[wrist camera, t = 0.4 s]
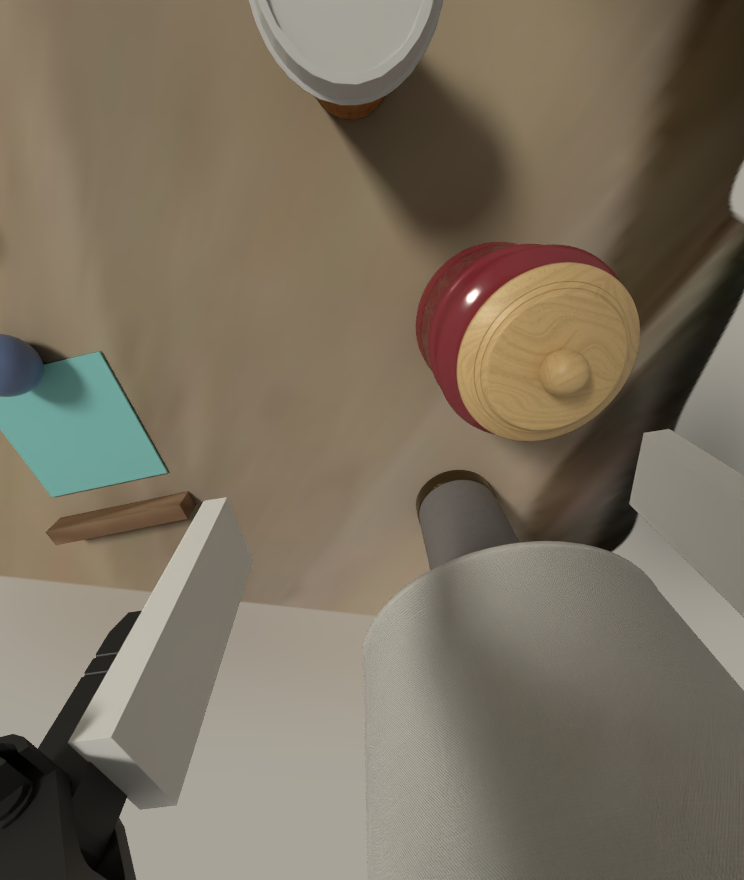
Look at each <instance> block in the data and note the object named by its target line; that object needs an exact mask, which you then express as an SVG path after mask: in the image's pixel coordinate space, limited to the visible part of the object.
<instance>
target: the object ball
mask: <svg viewBox="0 0 744 880" xmlns="http://www.w3.org/2000/svg"><path fill="white" fill-rule="evenodd" d="M43 372H44V367H43V362H42V360H41V357H40V356H39V354H38V353H37V352H36V350H35V349H34V348H33V347H31V346H30V345H29V344H27V343H26V342H24V341H22V340H20V339H18V338H16V337H13V336H9V335H4V334H0V397H13V396H19V395H22V394H25V393H27V392H29V391H31V390H32V389H34V388H35V387H36V386H37V385H38V384H39V382H40V381H41V379H42V377H43Z"/></svg>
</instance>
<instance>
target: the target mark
mask: <svg viewBox="0 0 744 880" xmlns="http://www.w3.org/2000/svg"><path fill="white" fill-rule="evenodd" d="M43 367H44V372H43V377H42V379H41V381H40V382H39V384H38V385H37V386H36V387H35V388H34V389H32V390H31V391H29V392H27V393H25V394H22V395H19V396H13V397H0V430H1V431H2V432H3V434H4V435H5V436H6V438H7V439H8V440H9V442H10V443H11V444H12V446H13V447H14V448H15V449H16V451H17V452H18V453H19V455H20V456H21V457H22V459H23V460H24V461H25V463H26V464H27V465H28V467H29V468H30V469H31V470H32V472H33V473H34V474H35V476H36V477H37V478H38V480H39V481H40V482H41V484H42V485H43V486H44V488H45V489H46V490H47V491H48V493H49V494H50V495H51V497H56V496H60V495H65V494H70V493H74V492H79V491H84V490H89V489H93V488H98V487H103V486H108V485H112V484H117V483H122V482H127V481H131V480H136V479H141V478H146V477H150V476H155V475H160V474H165V473H168V471H167V469H166V467H165V465H164V464H163V462H162V460H161V458H160V456H159V455H158V453H157V451H156V449H155V448H154V446H153V444H152V442H151V440H150V439H149V437H148V435H147V433H146V432H145V430H144V428H143V426H142V424H141V423H140V421H139V419H138V417H137V415H136V414H135V412H134V410H133V408H132V407H131V405H130V403H129V401H128V399H127V398H126V396H125V394H124V392H123V390H122V389H121V387H120V385H119V383H118V382H117V380H116V378H115V376H114V374H113V373H112V371H111V369H110V367H109V365H108V364H107V362H106V360H105V358H104V357H103V355H102V353H101V351H99V352H95V353H91V354H86V355H82V356H78V357H74V358H69V359H65V360H61V361H57V362H53V363H48V364H44V365H43Z"/></svg>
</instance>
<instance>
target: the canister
mask: <svg viewBox="0 0 744 880" xmlns="http://www.w3.org/2000/svg"><path fill="white" fill-rule="evenodd" d="M416 336H417V341H418V345H419V349H420V351H421V354H422V356H423V358H424V360H425V362H426V363H427V365H428V366H429V368H430V369H431V370H432V372H433V374H434V377H435V379H436V381H437V383H438V384H439V386H440V388H441V389H442V391H443V394H444V396H445V398H446V400H447V401H448V403H449V404H450V406H451V407H452V408H453V410H454V411H455V412H456V413H457V414H458V415H459V416H460V417H461V418H462V419H463V420H465V421H466V422H467V423H469V424H471V425H472V426H474V427H476V428H478V429H480V430H483V431H485V432H488V433H492V434H496V435H498V436H501V437H504V438H507V439H511V440H517V441H540V440H546V439H551V438H555V437H558V436H561V435H564V434H566V433H569V432H571V431H573V430H575V429H577V428H579V427H581V426H582V425H584V424H586V423H587V422H589V421H590V420H591V419H593V418H594V417H595V416H597V415H598V414H599V413H600V412H601V411H603V410H604V409H605V408H606V407H607V406H608V405H609V404H610V403H611V401H612V400H613V399H614V398H615V397H616V395H617V394H618V393H619V391H620V390H621V389H622V387H623V386H624V384H625V382H626V381H627V379H628V377H629V375H630V373H631V370H632V368H633V366H634V363H635V360H636V356H637V353H638V348H639V341H640V324H639V317H638V313H637V309H636V306H635V304H634V301H633V299H632V298H631V296H630V294H629V293H628V291H627V290H626V288H625V287H624V286H623V285H622V284H621V283H620V281H619V280H618V278H617V277H616V275H615V274H614V273H613V271H612V270H611V269H610V268H609V267H608V266H607V265H606V264H605V263H604V262H603V261H601V260H600V259H599V258H597V257H596V256H594V255H592V254H591V253H588V252H586V251H584V250H581V249H578V248H575V247H571V246H565V245H539V244H519V245H518V244H514V243H507V242H491V243H484V244H480V245H476V246H473V247H471V248H468V249H466V250H464V251H462V252H460V253H458V254H457V255H455V256H454V257H452V258H451V259H450V260H448V261H447V262H446V263H445V264H444V265H443V266H442V267H441V268H440V269H439V270H438V271H437V272H436V273H435V275H434V276H433V277H432V279H431V280H430V281H429V283H428V285H427V287H426V288H425V290H424V292H423V295H422V297H421V300H420V303H419V306H418V311H417V317H416Z"/></svg>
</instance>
